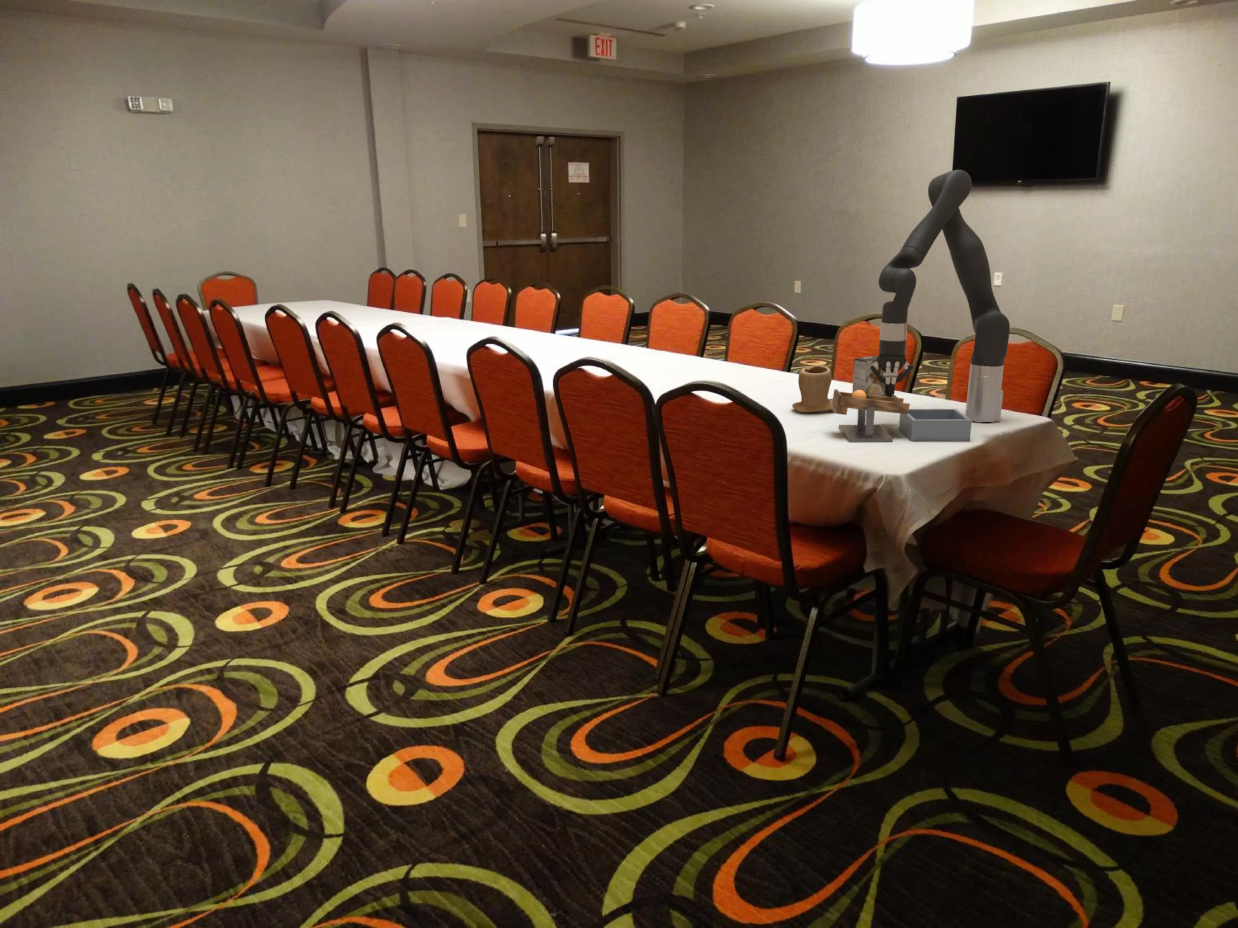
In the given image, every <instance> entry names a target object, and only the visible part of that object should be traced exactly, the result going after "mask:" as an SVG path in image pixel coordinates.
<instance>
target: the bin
mask: <svg viewBox="0 0 1238 928" xmlns="http://www.w3.org/2000/svg"><path fill="white" fill-rule="evenodd" d="M965 415H966V414H965V413H964V414H963V413H962V412H961V411H960V410H959V409H957V408H909V412H908V414H900V413H899V421H898V429H899V430H900V432H902V434H903V435H905V436H906V437H907V439H909V440H910V442H969V441H968V440H970V441H971V431H972V422H973V421H972V420H971V419H969V418H968V417H967V416H965Z"/></svg>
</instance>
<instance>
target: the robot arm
mask: <svg viewBox="0 0 1238 928" xmlns="http://www.w3.org/2000/svg"><path fill="white" fill-rule="evenodd" d="M972 187H973V182H972V178H971V176H970V175H969V174H968V172H967V171H965V170H963V169H955V170H951V171H948V172H945V173H942V174H939V175H937V176H935V177H934V178H932V179H931V180H930V181H929V184H928V188H927V195H928V199H929V202H930V205H931V207H932V208H931V209H930V210H929V212H928V213H927V214H926V215H925V216H923V218H922V219H921V221H919V222H918V224H917V225H916V226H915V228H914V229H913V230H912V231H911V232H910V234H909V235H908V237H907V239H906V241H905V242H904V244H903V246H902V247H901V249H900V251H899V252H898V253H897V254H896V255H895V256H894V257H893V258H892V259H891V260H890V261H889V262H888V263H887V264H886V265H885V266H884V267H883V268H882V271H881V272H880V274H879V275H878V276H879V277H878V287H879V289H880V290H881V291H883V292H885V293H891V294H895V295H894V296H893V297H894V298H893V300H890V301H886V302H884V303H883V305H882V311H881V312H882V313H881V323H880V330H879V342H878V343H879V344H878V354H877V356H878V357H877V359H876V362H875V363H873V364H870V365H869V368H870V369H871V371H872V372H873V373H874V375H875V376H876V377H877V379H878V380H879V381H880V382H883V383H884V394H885V395H886V396H889V397H890V396H892V395H895V393H896V392H895V391H896V390H895V389H896V384H897V383H902V382H903V381H904V379H905V378H906V377H907V376H908V375H909V374H910V373H911V371H912V370H913V369H914V366H913V365H912V364H910V363H909V362H907V361H908V360H907V357H906V352H907V351H906V350H907V338H908V326H907V325H908V313H909V312H908V310H909V307H910V303H911V302H912V298H913V295H914V293H915V290H916V286H917V277H916V274H915V272H914V271H913V270H912V269H914V268H918V267H920V265H921V264H922V263H923V261H925V258H926V257H927V255H928V253H929V252H930V250H931V248H932V246H933V244H934V243H935V241H936V240H937V237H938V236H939V235H940V233H941V231H942V233H943V236H944V239H945V241H946V242H945V243H946V244H947V247H948V251H949V254H950V258H951V261H952V264H953V268H954V270H955V273H956V276H957V279H958V281H959V284H960V285H961V289H962V290H963V293H964V295H965V297H966V300H967V303H968V308H969V311H970V317H971V323H972V328H973V331H974V335H975V336H974V344H973V350H972V354H971V357H970V367H969V377H968V384H967V385H968V387H967V397H966V405H965V414H964V415H965V416H967V417H968V418H969V419H971V420H972V422H973V421H975V422H974V423H981V422H991V423H995V421H997V422H1001V415H1002V407H1003V397H1004V390H1002V384H1003V383H1002V382H1003V375H1004V368H1005V367H1004V366H1005V365H1004V364H1005V359H1006V357H1007V353H1008V346H1009V339H1010V330H1011V326H1010V325H1011V323H1010V321H1009V318H1008V317H1007V316H1006V315H1005V314H1003V312H1001V311H1002V310H1001V309H1000V306H999V305H998V302H997V299H996V298H995V294H994V291H993V286H992V274H991V269H990V262H989V259H988V255H987V252H986V249H985V246H984V243H983V240H981V238H980V237H979V235H978V234H977V233H976V232H975V231H974V230H973V228H971V227H970V226H969V224H968V223H967V222H966V221H965V219H964V217H963V215H962V212H961V209H960V207H961V205H962V204H963V203H964V201H966V200H967V198H968V196H969V195H970V194H971V190H972ZM878 365H879V366H880V368H881V369H882V371H883V374H884V378H883V377H882V376H881V375H880V374H879V372H878V371H877V370H878ZM901 369H902V371H901V372H900V373H899V371H900V370H901Z"/></svg>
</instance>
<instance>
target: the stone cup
mask: <svg viewBox="0 0 1238 928" xmlns="http://www.w3.org/2000/svg"><path fill="white" fill-rule="evenodd" d="M832 379H833V376H832V370H831V368H829V366H826V365H823V364H822V365H820V364H814V365H813V364H812V365H809V366H807V367H803V368H801V369H800V371H799V373H798V379H797V380H798V382H797V383H798V388H799V392H800V396H801V400H800V401H796V402H794V403H793V404H792V405H791V407H792V408H793V410H795V411H797V412H801V413H816V412H817V413H819V412H828V411H833V409H832V408H831V406H832V401H833V398H829V396H828V395H829V393H830V392H829V391H830V387H831V384H832Z"/></svg>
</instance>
